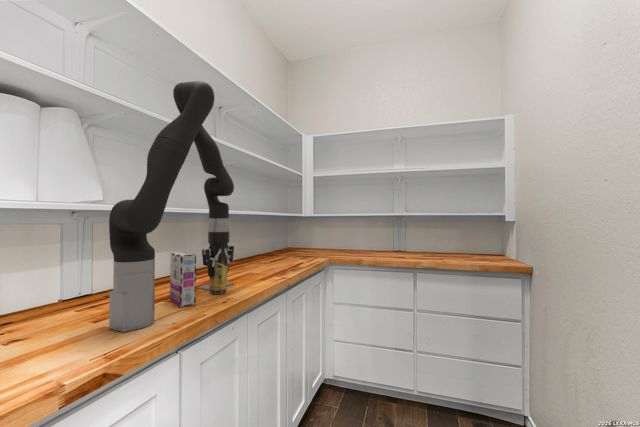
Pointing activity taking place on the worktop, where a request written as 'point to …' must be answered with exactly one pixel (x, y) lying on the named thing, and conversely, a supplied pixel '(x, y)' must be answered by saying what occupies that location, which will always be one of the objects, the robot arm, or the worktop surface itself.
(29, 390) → the worktop surface
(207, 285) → the rubber mat
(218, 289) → the sauce bottle
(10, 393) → the worktop surface
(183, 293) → the candy bar box
